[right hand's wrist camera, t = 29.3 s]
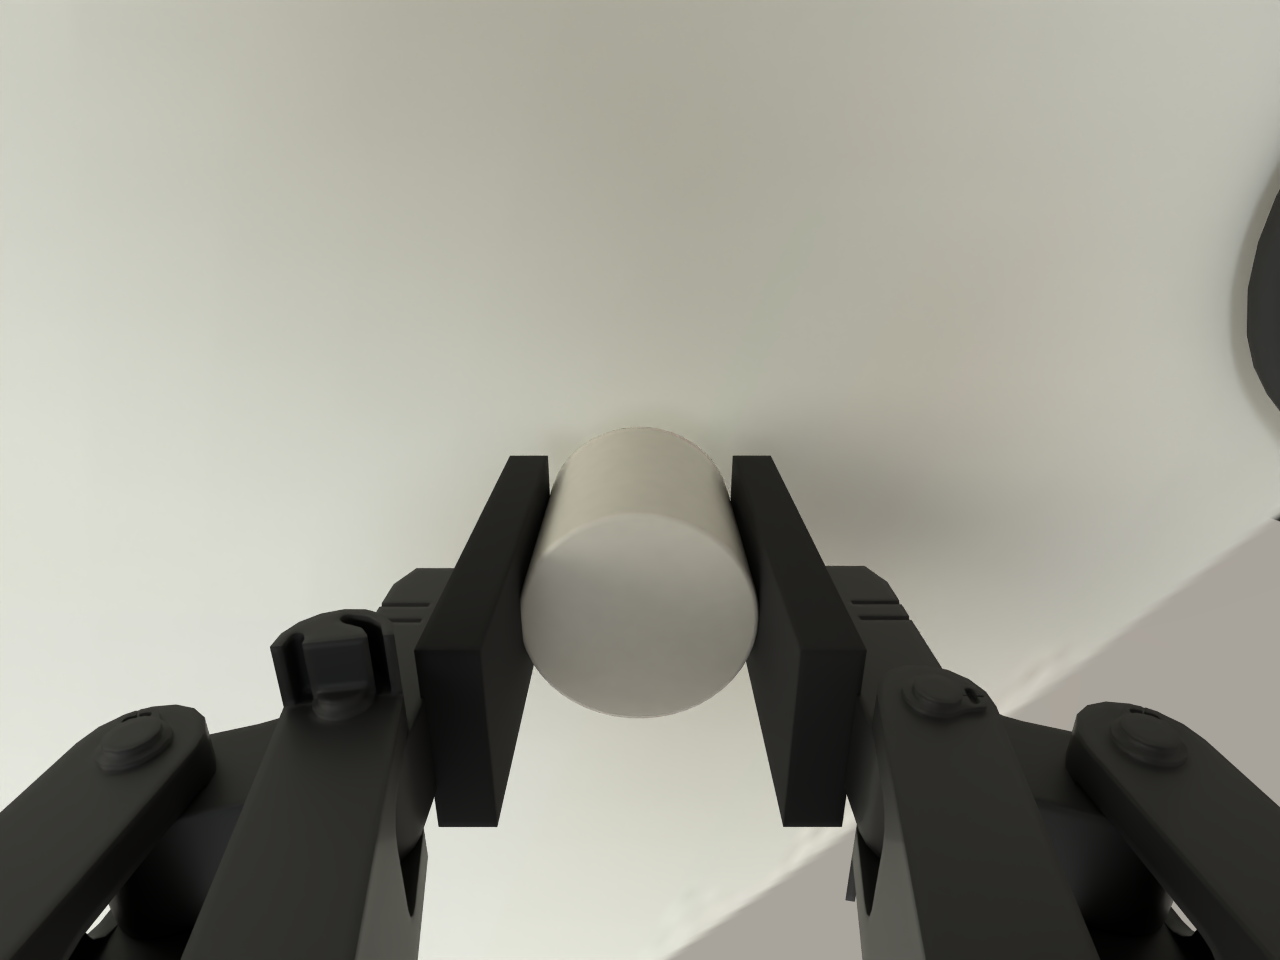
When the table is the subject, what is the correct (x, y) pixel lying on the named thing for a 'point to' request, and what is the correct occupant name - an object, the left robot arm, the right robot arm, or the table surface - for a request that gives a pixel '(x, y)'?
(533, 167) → the table surface
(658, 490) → the can
